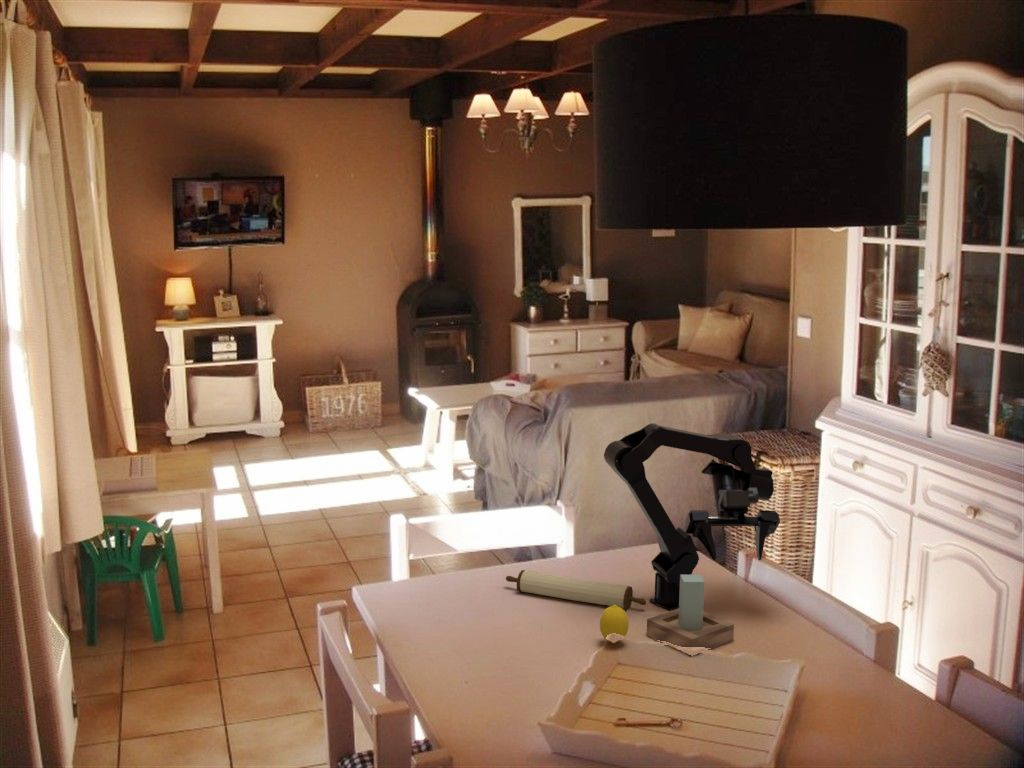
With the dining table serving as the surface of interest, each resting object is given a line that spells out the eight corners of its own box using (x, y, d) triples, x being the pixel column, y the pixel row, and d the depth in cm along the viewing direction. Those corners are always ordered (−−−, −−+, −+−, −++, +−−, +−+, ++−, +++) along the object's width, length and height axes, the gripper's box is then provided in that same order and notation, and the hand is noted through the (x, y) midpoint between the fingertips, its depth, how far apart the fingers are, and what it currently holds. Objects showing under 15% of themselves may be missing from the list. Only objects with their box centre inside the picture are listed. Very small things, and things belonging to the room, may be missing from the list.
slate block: (678, 622, 207) (680, 574, 205) (698, 622, 207) (700, 574, 205) (681, 630, 203) (683, 581, 201) (702, 630, 203) (704, 581, 201)
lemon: (626, 651, 199) (627, 611, 198) (597, 648, 200) (598, 609, 199) (629, 639, 204) (630, 600, 203) (601, 636, 205) (602, 598, 204)
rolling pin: (500, 593, 228) (501, 571, 227) (510, 584, 233) (511, 563, 233) (642, 617, 216) (643, 594, 215) (649, 607, 221) (650, 585, 220)
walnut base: (646, 635, 206) (647, 618, 206) (688, 621, 214) (688, 605, 213) (691, 656, 197) (692, 639, 196) (733, 640, 204) (734, 624, 204)
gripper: (690, 472, 213) (698, 541, 204) (780, 473, 213) (793, 541, 204) (681, 498, 222) (689, 566, 213) (767, 499, 222) (779, 566, 213)
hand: (737, 559), depth 211 cm, fingers open, 9 cm apart
